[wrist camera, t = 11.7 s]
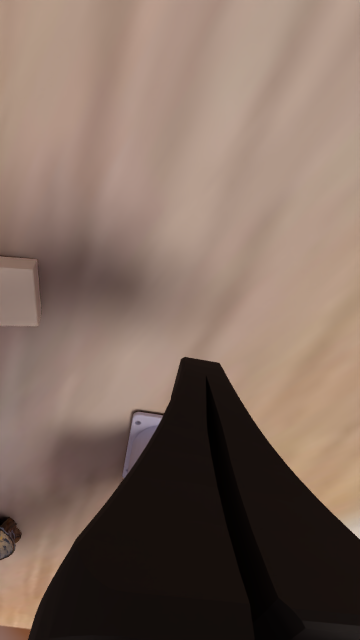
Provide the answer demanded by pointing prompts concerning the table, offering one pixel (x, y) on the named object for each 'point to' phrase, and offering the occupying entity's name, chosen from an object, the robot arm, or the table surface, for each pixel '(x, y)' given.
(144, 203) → the table surface
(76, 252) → the table surface
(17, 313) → the ivory tile
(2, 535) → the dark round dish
